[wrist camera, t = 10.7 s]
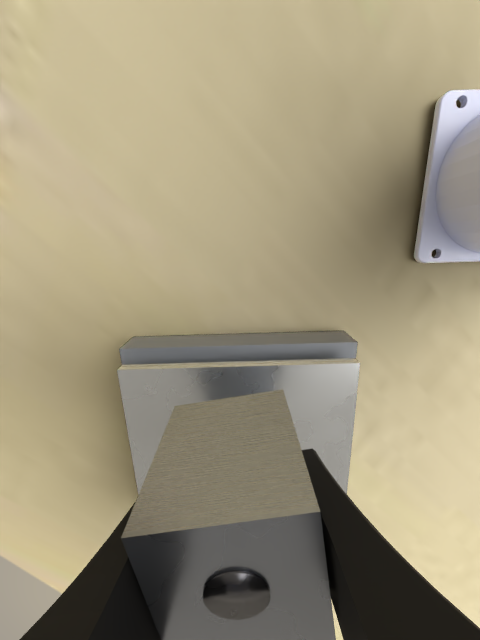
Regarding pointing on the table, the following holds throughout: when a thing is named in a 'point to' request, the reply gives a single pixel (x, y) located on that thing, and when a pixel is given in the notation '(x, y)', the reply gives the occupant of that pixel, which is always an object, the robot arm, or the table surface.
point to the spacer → (231, 527)
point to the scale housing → (238, 347)
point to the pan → (237, 380)
